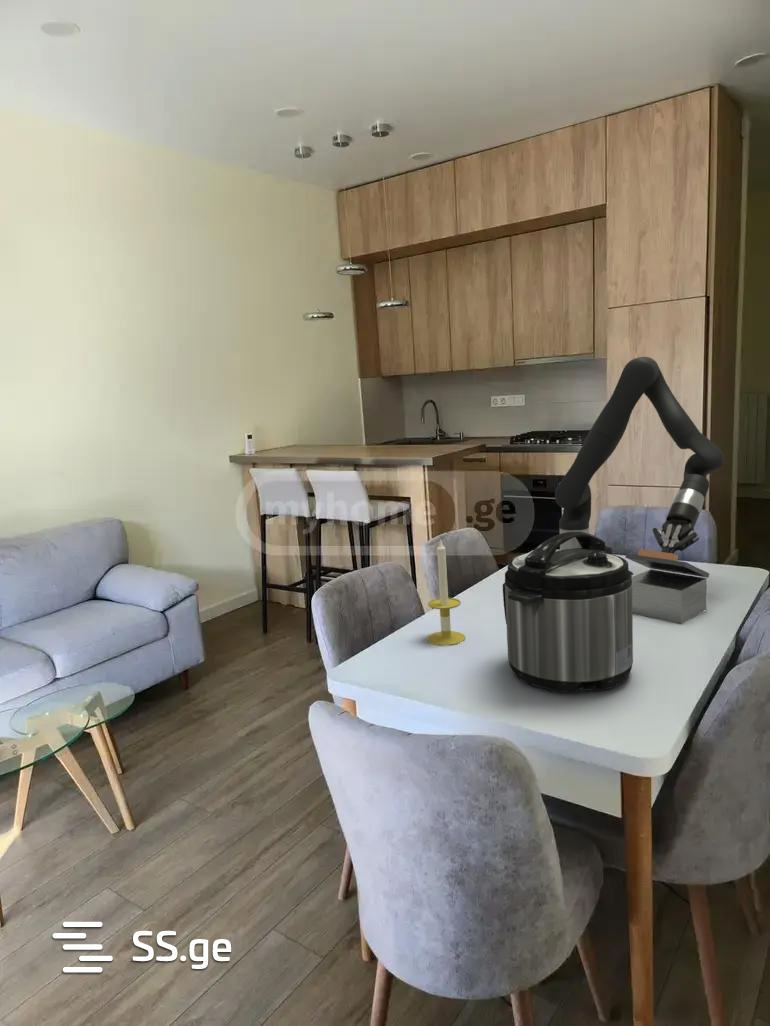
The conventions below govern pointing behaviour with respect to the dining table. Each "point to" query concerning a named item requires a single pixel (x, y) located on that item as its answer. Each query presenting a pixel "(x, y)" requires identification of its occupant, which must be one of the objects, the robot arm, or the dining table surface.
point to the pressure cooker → (569, 615)
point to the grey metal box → (668, 595)
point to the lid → (665, 562)
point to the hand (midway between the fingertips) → (664, 560)
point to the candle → (444, 606)
